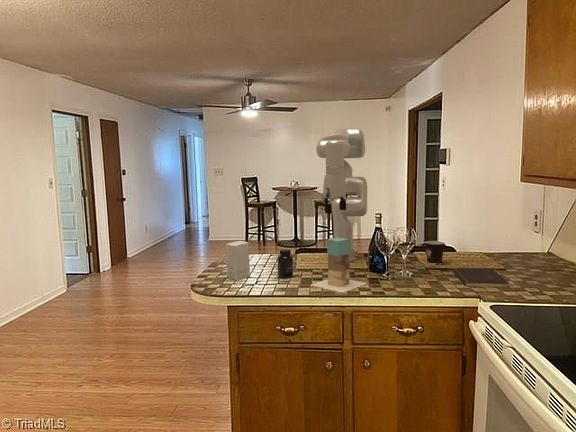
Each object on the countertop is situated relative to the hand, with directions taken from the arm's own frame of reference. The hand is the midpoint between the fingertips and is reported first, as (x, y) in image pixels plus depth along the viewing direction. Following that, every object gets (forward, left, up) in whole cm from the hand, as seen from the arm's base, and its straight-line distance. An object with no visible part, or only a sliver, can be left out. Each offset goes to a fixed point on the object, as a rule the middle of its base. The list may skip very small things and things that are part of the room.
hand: (335, 211), depth 184 cm
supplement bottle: (+13, -18, -29) cm, 36 cm away
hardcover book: (-35, +46, -29) cm, 65 cm away
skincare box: (+27, -33, -29) cm, 51 cm away
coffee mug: (-50, +19, -29) cm, 61 cm away
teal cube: (+9, +8, -16) cm, 20 cm away
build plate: (+10, +9, -29) cm, 31 cm away
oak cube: (+10, +9, -28) cm, 31 cm away
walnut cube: (+10, +9, -22) cm, 25 cm away
